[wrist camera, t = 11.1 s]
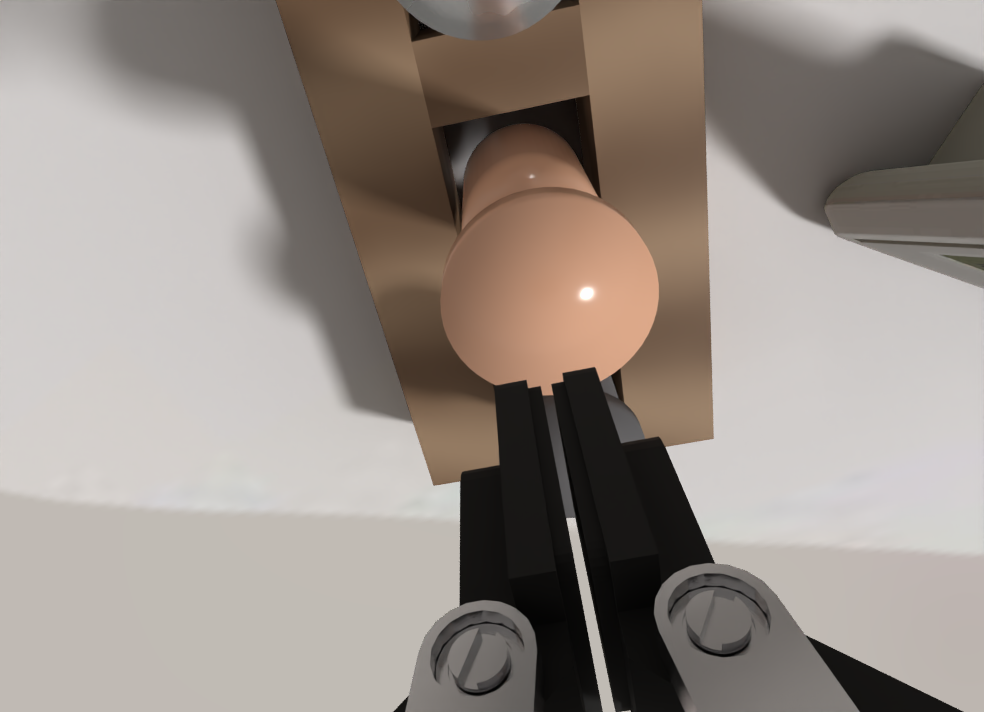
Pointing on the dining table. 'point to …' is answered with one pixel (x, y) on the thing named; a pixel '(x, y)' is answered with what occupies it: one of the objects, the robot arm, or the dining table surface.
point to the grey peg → (479, 16)
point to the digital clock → (923, 205)
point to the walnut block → (435, 202)
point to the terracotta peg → (543, 267)
